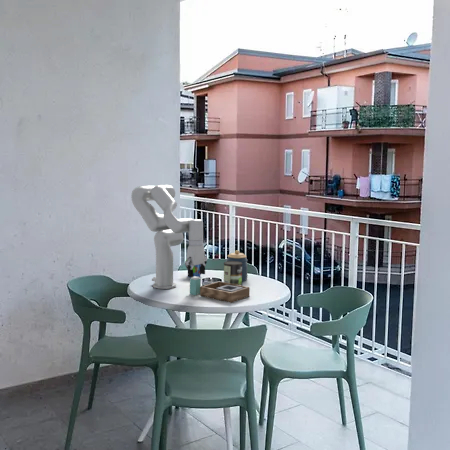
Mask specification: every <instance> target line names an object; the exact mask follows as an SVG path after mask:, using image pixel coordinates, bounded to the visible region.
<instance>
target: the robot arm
mask: <svg viewBox="0 0 450 450" xmlns="http://www.w3.org/2000/svg"><path fill="white" fill-rule="evenodd" d="M175 197H176V191H175V188H174V187H173V186H172V185H170V184H158V185H141V186H137V187H135V188H133V190H132V192H131V203H132V205H133V206H134V209H135V210H136V211H137V212H138V213H139V214H140V216H141V218H142V219H143V221H144V223H145V224H146V227H147V228H148V229H149V230H150V231H151V232H153V233H155V234H154V236H153V241H154V248H155V276H152V277H153V278H151V281H152V282H153V284H152V287H153V288H155V289H159V290H169V289H173V288H174V289H175V288H176V286H177V284H176V283H175V282H174V253H173V250H172V248H171V247H175V246H180V245H181V244H183V242H184V233H185V234H186V233H188V246H187V251H186V259H187V260H186V259H185V261H184V265H185V267H186V269H188V270H187V277H188V278H191V277H193V270H192V269H193V267H194V266H195V265H199V264H200V274H201V275H206V266H207V263H208V262H207V261H208V256H206V253H205V245H204V222H203V221H204V220H202V219H200V218H199V219H198V218H197V219H195V218H191V217H186V218H177V217H176V216H175V215H174V213H173V212H174V211H175V210H176V208H177V206H178V203H177V201H176V200H175ZM149 201H151V202H153V201H154V202H155V203H156V204H157V205H158V206H159V208H160V209H161V210H162V211H163V213H161V214H160V213H158V211H157V210H156V208H155V207H154V206H153V205H152V204H151V203H149ZM190 266H191V267H190Z"/></svg>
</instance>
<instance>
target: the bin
mask: <svg viewBox="0 0 450 450" xmlns="http://www.w3.org/2000/svg"><path fill="white" fill-rule="evenodd" d="M225 285H232V286H238V287H243V289H240V290H237V291H234V292H227V291H222V290H217V289H216V288H218V287H221V286H225ZM199 296H200V297H203V298H207V299H212V300H215V301H216V300H217V301H221V302H226V303H230V304H232V303H235V302H237V301H240V300H243V299H247V298H249V297H250V286H246V285H242V286H241V285H236V284H230V283H225V282H224V281H216V282H212V283H211V282H210V283H208V284H205V285H201V287H200V294H199Z"/></svg>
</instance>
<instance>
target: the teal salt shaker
mask: <svg viewBox="0 0 450 450" xmlns="http://www.w3.org/2000/svg"><path fill="white" fill-rule="evenodd" d="M201 286H202V285H201V276H199V277H197V276H194V277H190V279H189V294H190V295H193V296H197V295H200V287H201Z"/></svg>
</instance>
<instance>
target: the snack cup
mask: <svg viewBox="0 0 450 450" xmlns="http://www.w3.org/2000/svg"><path fill="white" fill-rule="evenodd" d="M186 260H187V258H186V259H185V261H186ZM190 267H191V266H190ZM186 269H187V268H186ZM192 270H193V277H194V276H197V277H201V275H202V274H200V264H199V265H195V266H194V267H193V269H192ZM187 271H188V269H187Z"/></svg>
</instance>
